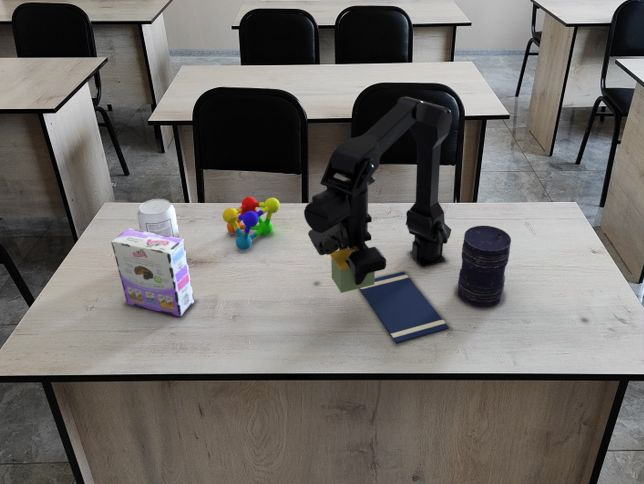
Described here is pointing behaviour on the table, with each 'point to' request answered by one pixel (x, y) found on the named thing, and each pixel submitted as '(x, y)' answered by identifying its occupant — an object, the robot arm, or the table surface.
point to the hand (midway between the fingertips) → (352, 276)
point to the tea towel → (402, 308)
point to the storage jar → (483, 266)
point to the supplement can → (158, 218)
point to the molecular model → (250, 220)
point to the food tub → (346, 272)
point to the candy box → (154, 271)
